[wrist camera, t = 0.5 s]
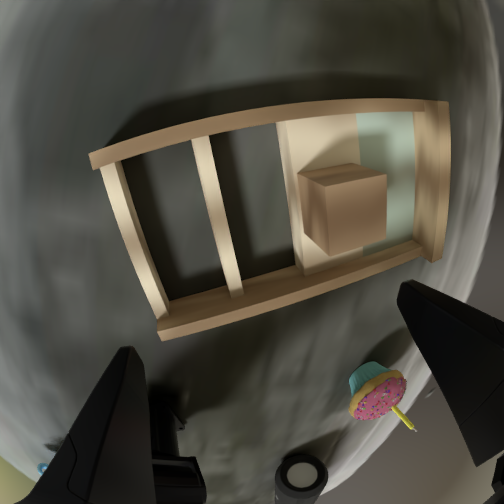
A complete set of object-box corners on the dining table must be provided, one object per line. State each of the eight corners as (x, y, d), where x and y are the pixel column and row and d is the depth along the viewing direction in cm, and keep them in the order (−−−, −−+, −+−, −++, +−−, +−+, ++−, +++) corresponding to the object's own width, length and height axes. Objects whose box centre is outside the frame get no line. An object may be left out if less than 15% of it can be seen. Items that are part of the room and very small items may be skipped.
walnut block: (355, 218, 22) (386, 238, 18) (303, 232, 21) (329, 257, 17) (352, 162, 19) (386, 174, 16) (296, 173, 19) (324, 186, 15)
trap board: (408, 237, 27) (441, 258, 22) (161, 313, 23) (162, 355, 19) (407, 98, 20) (448, 101, 16) (103, 148, 17) (80, 157, 12)
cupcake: (396, 347, 35) (445, 405, 25) (372, 387, 38) (411, 442, 28) (349, 356, 33) (400, 428, 22) (327, 398, 36) (364, 464, 25)
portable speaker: (268, 458, 42) (284, 503, 33) (318, 443, 44) (339, 484, 35) (269, 490, 54) (281, 520, 45) (306, 479, 56) (319, 508, 47)
